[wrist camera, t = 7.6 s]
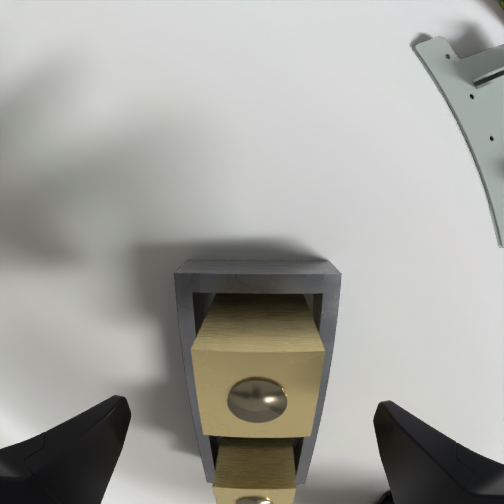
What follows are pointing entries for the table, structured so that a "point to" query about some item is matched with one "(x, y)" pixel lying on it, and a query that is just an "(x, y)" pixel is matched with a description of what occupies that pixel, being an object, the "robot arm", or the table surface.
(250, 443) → the block
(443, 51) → the metal bracket
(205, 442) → the grey slotted tray
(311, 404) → the tan knobbed block
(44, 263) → the table surface
